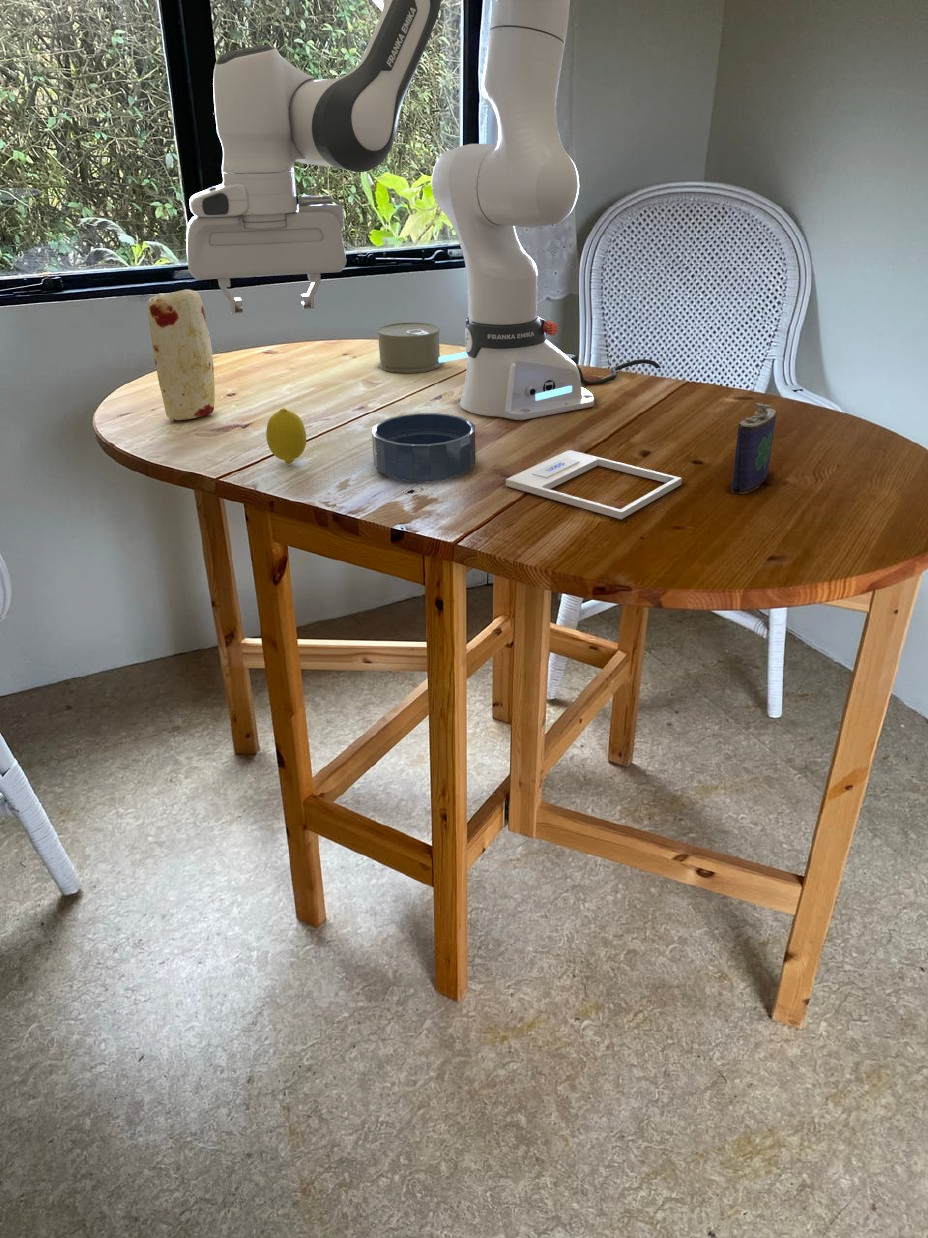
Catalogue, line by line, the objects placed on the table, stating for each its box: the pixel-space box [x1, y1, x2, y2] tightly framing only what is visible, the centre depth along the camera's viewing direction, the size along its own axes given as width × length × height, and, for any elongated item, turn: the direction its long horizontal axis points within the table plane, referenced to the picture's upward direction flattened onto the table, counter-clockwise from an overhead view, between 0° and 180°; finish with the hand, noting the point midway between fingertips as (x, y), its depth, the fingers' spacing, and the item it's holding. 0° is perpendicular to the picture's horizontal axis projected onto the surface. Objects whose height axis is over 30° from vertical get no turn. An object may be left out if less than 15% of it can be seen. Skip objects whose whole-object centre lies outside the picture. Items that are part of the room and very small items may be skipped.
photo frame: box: [505, 449, 683, 520], centre depth 122 cm, size 15×1×18 cm
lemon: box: [265, 407, 307, 464], centre depth 130 cm, size 6×6×8 cm
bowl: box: [371, 412, 476, 482], centre depth 128 cm, size 14×14×6 cm
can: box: [376, 322, 441, 374], centre depth 177 cm, size 12×12×7 cm
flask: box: [730, 402, 777, 495], centre depth 119 cm, size 9×3×11 cm, turn 144°
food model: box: [147, 289, 216, 421], centre depth 147 cm, size 10×7×20 cm
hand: (273, 310), depth 122 cm, fingers open, 8 cm apart
